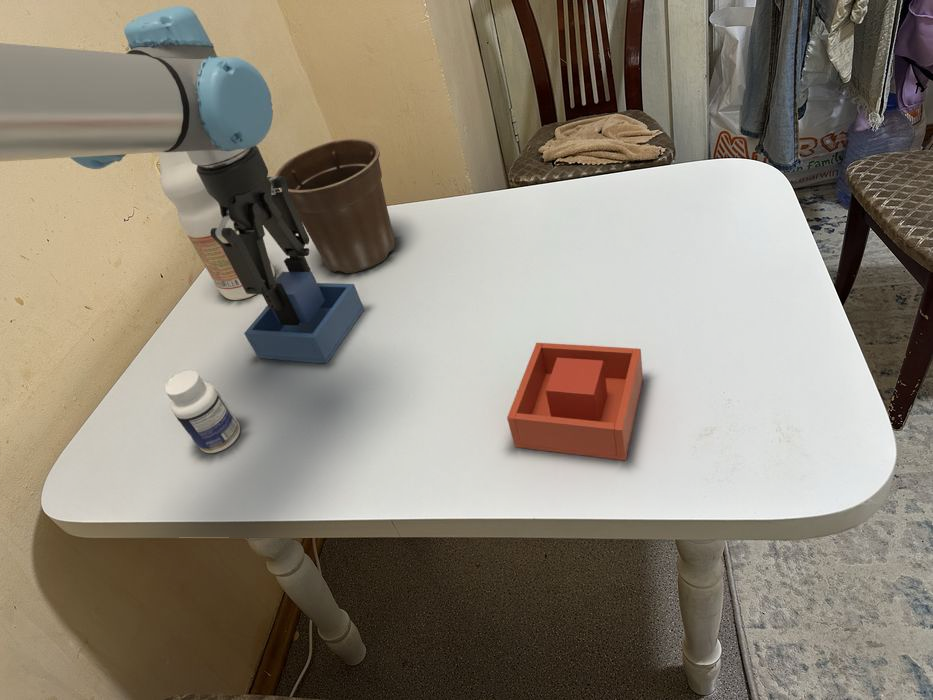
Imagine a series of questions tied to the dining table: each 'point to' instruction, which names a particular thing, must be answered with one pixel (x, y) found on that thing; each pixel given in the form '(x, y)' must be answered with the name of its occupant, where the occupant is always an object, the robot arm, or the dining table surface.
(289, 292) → the blue block
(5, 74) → the robot arm
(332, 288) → the blue bin
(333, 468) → the dining table surface
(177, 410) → the pill bottle
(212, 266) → the fruit juice
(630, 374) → the red bin
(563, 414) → the red block
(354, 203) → the plant pot
